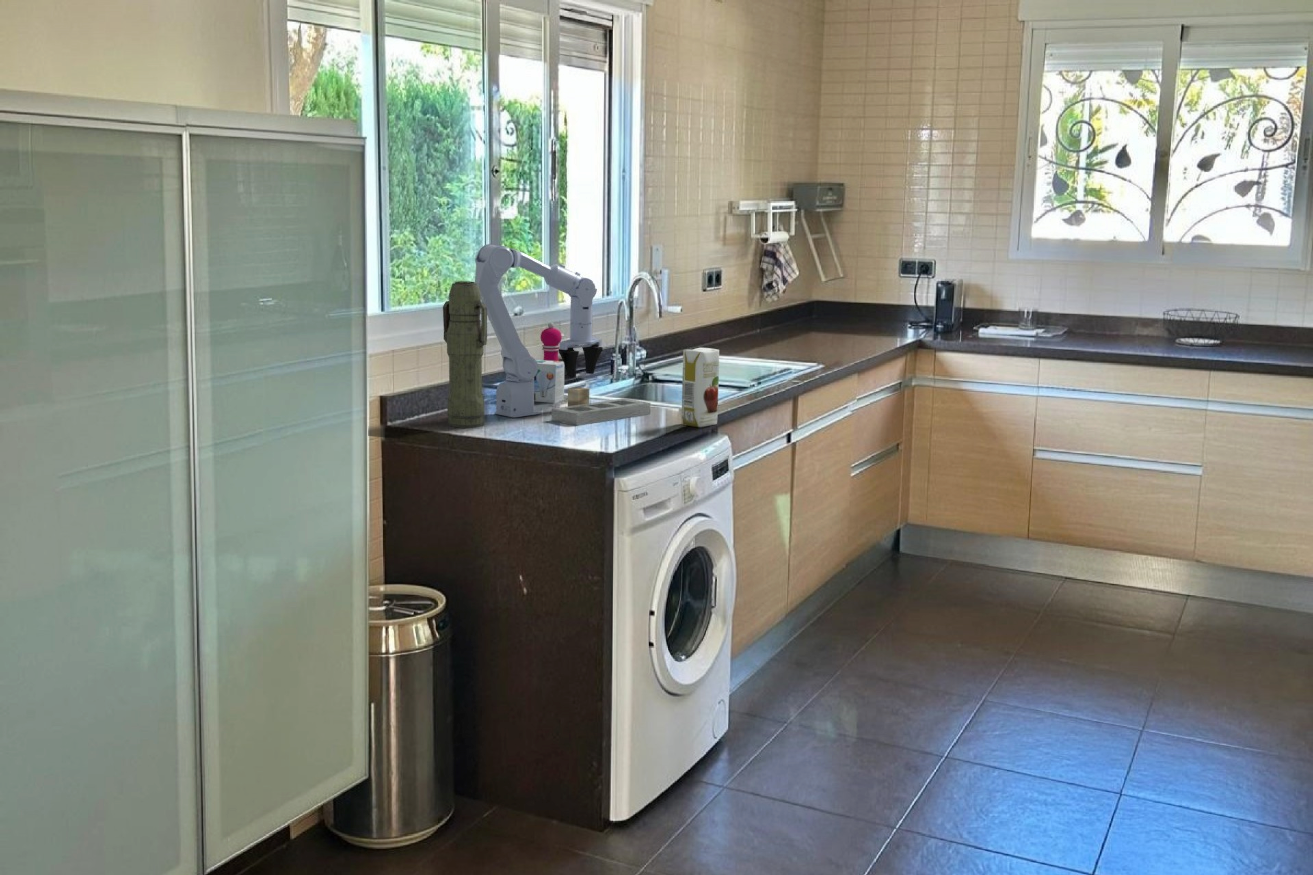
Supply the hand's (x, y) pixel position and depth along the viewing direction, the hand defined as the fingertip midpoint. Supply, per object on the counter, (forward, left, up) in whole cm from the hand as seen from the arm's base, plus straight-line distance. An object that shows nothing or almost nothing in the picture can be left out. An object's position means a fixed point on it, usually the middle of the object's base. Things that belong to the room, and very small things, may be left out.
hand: (580, 374), depth 344 cm
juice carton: (+9, -35, -10) cm, 37 cm away
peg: (-1, -1, -9) cm, 9 cm away
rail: (-3, -12, -9) cm, 15 cm away
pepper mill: (+14, +27, -10) cm, 32 cm away
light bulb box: (+3, +18, -10) cm, 21 cm away
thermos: (-36, +2, -10) cm, 38 cm away
